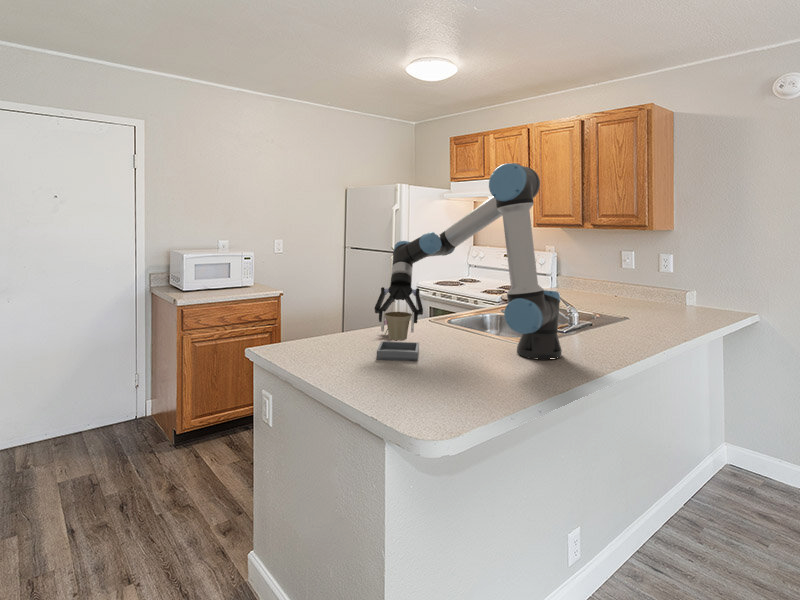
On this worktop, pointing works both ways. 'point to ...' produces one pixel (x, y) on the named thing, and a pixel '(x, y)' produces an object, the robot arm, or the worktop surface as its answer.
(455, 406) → the worktop surface
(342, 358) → the worktop surface
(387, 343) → the tray
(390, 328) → the flower pot
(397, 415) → the worktop surface
